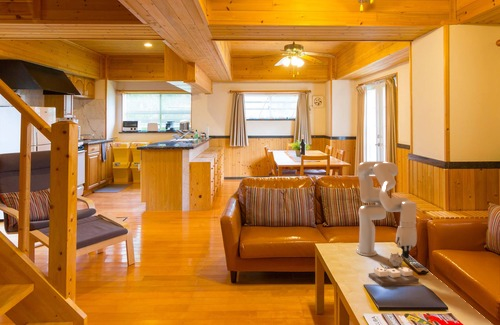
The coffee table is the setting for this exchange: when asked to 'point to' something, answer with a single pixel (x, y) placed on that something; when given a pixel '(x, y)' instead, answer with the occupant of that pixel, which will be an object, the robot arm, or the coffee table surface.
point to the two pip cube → (405, 271)
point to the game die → (396, 260)
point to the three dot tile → (381, 271)
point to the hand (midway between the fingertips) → (405, 257)
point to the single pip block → (393, 273)
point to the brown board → (393, 279)
